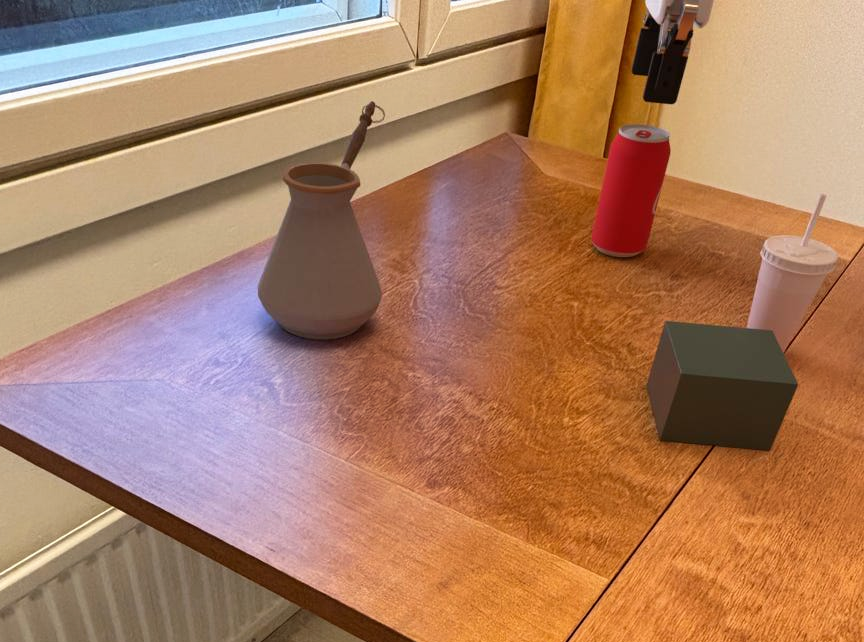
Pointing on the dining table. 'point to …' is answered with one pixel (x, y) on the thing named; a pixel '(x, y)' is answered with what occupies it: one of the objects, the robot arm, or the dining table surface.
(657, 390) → the riser block
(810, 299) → the smoothie
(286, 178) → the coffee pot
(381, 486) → the dining table surface
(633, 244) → the beverage can
